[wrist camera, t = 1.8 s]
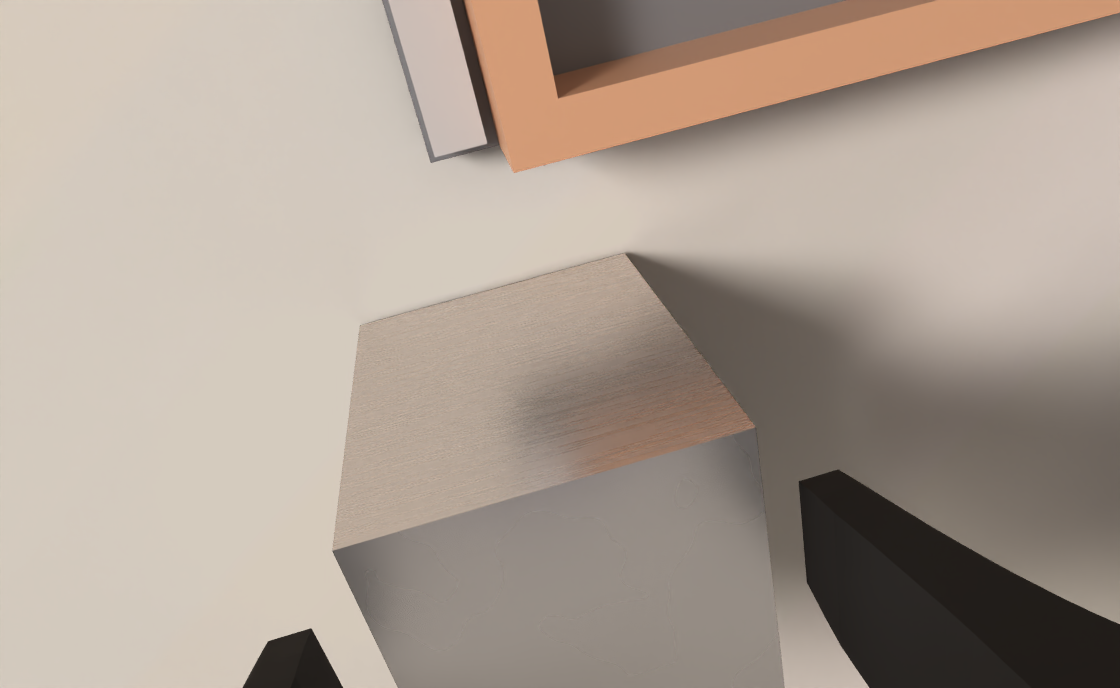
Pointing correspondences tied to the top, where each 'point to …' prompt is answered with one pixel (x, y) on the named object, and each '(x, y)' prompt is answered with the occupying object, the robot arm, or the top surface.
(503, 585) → the brushed metal cube
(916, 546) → the robot arm
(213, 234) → the top surface
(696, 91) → the frame
